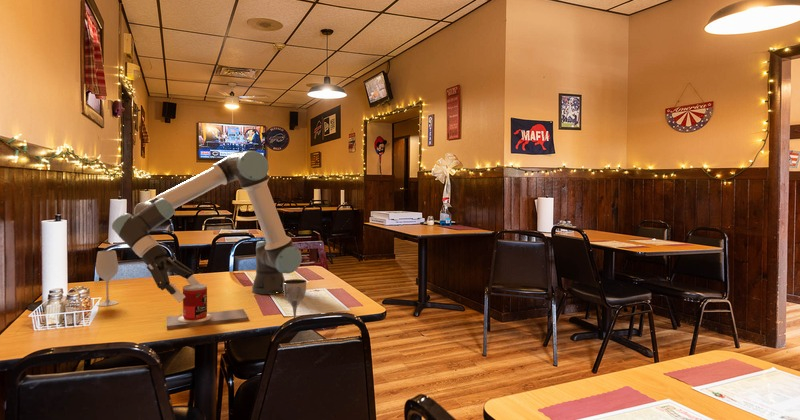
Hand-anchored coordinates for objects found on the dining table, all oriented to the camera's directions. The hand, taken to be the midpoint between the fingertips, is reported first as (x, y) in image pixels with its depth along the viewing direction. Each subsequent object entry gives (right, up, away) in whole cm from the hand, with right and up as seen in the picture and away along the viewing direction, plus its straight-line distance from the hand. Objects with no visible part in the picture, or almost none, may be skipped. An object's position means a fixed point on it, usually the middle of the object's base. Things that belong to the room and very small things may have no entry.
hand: (192, 295), depth 166 cm
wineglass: (-44, -8, +23) cm, 50 cm away
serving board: (+4, -9, +3) cm, 11 cm away
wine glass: (+36, -10, 0) cm, 37 cm away
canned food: (+1, -8, +1) cm, 8 cm away
